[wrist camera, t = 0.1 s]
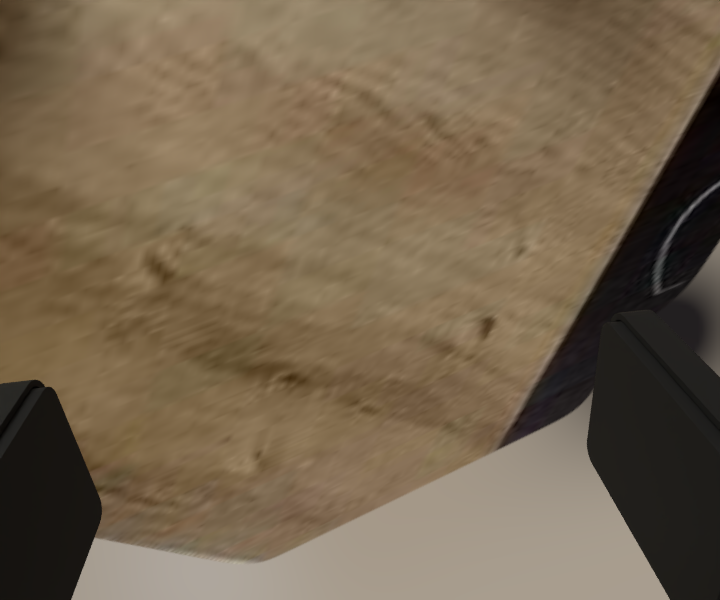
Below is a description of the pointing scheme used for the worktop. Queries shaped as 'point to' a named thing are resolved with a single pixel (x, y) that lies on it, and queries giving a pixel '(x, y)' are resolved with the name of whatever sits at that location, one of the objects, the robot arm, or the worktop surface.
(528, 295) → the worktop surface
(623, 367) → the robot arm
